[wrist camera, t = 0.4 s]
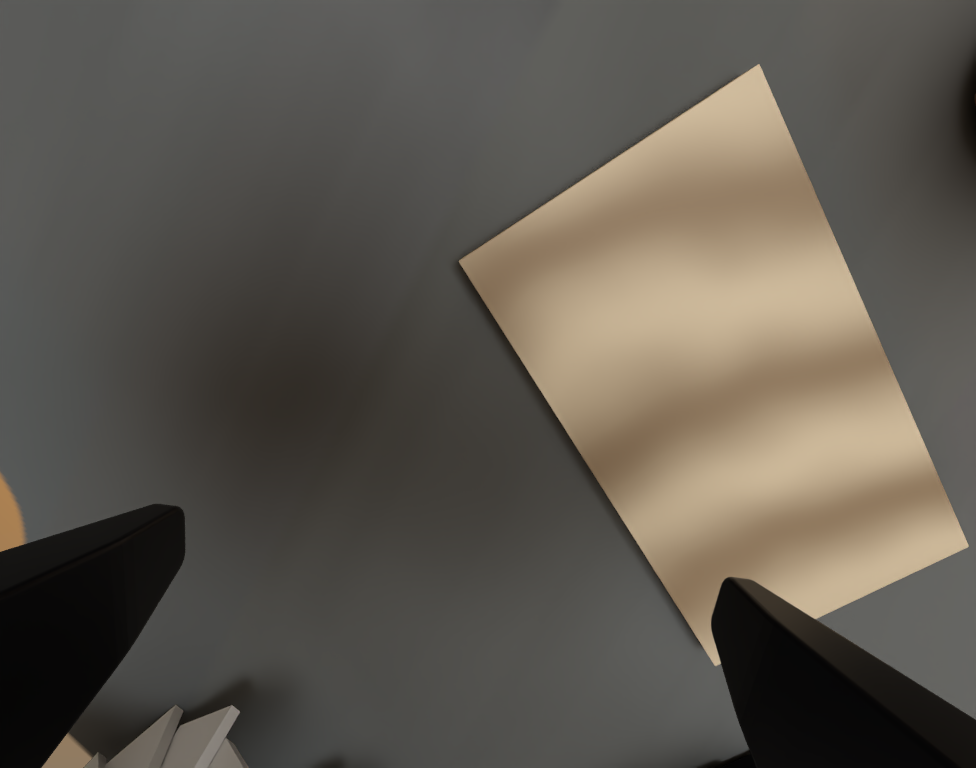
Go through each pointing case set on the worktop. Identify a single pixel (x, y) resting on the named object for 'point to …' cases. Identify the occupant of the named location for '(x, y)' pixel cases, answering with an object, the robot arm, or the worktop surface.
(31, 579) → the robot arm
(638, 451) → the beech cutting board
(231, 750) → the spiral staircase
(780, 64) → the worktop surface
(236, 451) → the worktop surface
